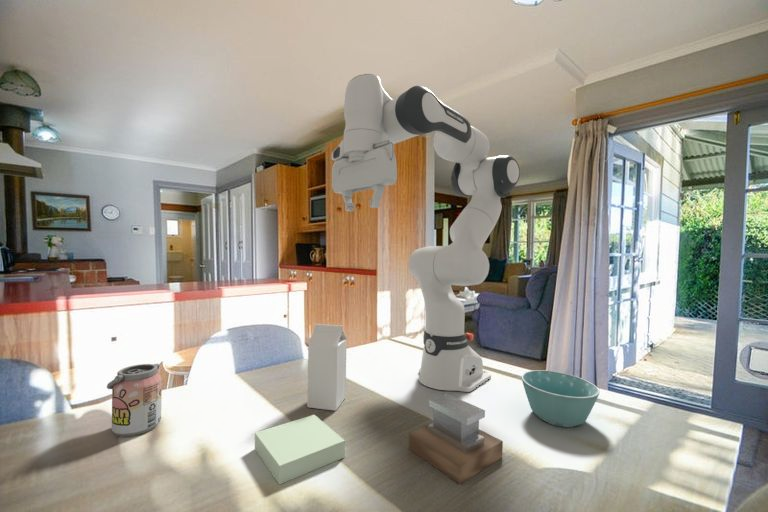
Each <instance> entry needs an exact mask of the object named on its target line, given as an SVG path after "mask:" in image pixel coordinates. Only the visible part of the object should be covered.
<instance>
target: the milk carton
mask: <svg viewBox="0 0 768 512" xmlns="http://www.w3.org/2000/svg"><path fill="white" fill-rule="evenodd" d="M347 342H348V341H347V337H346V334H345V332H344V329H343V325H336V324H335V325H334V324H321V323H314V329H313V332H312V333H311V336H310V338H309V342H308V346H307V347H308V353H307V354H308V355H307V357H308V358H307V403H306V404H307V405H306V406H307V408H310V409H318V410H327V411H337V410H338V409H339V407H340V406H341V404H342V403H343V401H345V399H346V389H347V388H346V387H347V386H346V385H347V384H346V383H347V382H346V381H347Z"/></svg>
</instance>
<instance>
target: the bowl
mask: <svg viewBox="0 0 768 512" xmlns="http://www.w3.org/2000/svg"><path fill="white" fill-rule="evenodd" d="M521 380H522V381H521V382H522V384H523V387H524V391H525V395H526V397H527V401H528V404H529V407H530V409H531V411H532V412H533V413H534V414H535V415H536V416H537V417H538V418H539V419H541V420H542V421H543V420H544V421H543V422H545V421H546V422H545V423H547V422H548V423H547V424H551V425H553V426H556V425H557V426H556V427H561V426H563V427H562V428H575V427H577V425H578V426H581V425H582V424H584V423H585V422H586V421H587V419H588V418H589V415H590V414H591V412H592V410H593V408H594V406H595V404H596V402H597V399H598V397H599V395H600V389H599V388H598V386H596V385H595V384H594V383H592V382H590V381H589V380H587V379H584V378H581V377H579V376H576V375H573V374H569V373H565V372H560V371H557V370H556V371H555V370H544V369H542V370H541V369H536V370H528V371H526V372H524V373H522V375H521ZM574 426H575V427H574Z"/></svg>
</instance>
